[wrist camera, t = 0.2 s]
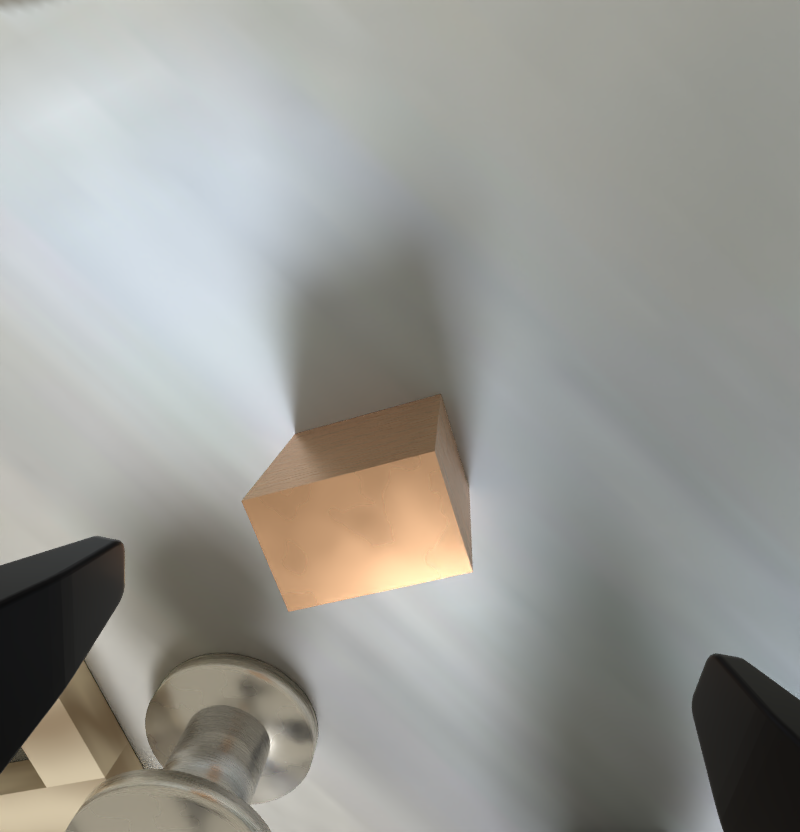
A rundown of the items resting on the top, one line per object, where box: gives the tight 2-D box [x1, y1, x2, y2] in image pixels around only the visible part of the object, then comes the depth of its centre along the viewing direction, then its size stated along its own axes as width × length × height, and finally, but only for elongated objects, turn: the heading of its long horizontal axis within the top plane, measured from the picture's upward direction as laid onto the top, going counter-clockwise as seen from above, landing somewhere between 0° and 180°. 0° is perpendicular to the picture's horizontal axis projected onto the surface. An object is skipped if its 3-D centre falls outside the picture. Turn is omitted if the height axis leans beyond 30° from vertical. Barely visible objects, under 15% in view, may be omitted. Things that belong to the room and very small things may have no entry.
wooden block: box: [242, 394, 473, 612], centre depth 20 cm, size 4×6×6 cm, turn 108°
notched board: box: [0, 660, 143, 832], centre depth 30 cm, size 16×14×2 cm
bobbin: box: [65, 653, 318, 832], centre depth 24 cm, size 8×8×7 cm
